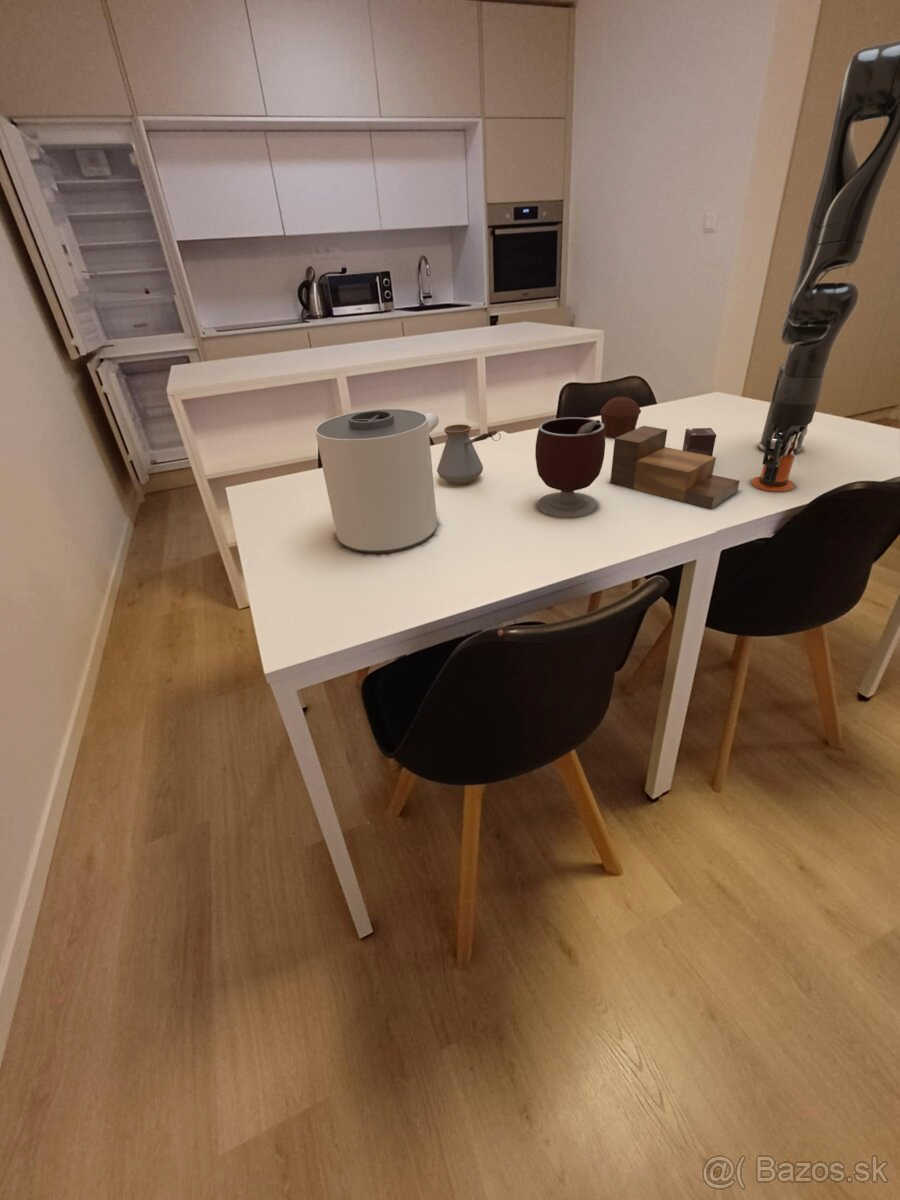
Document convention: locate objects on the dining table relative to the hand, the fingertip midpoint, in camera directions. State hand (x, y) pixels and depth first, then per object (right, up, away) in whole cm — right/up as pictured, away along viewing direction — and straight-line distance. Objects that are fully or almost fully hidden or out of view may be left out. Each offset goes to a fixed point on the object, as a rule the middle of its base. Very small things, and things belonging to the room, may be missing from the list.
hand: (774, 478), depth 115 cm
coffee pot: (-66, +1, +13) cm, 67 cm away
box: (-10, +8, +17) cm, 21 cm away
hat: (0, -1, +1) cm, 1 cm away
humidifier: (-82, -12, -4) cm, 83 cm away
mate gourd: (-45, -7, -1) cm, 46 cm away
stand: (-21, -1, +4) cm, 21 cm away
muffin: (-22, +22, +39) cm, 50 cm away
